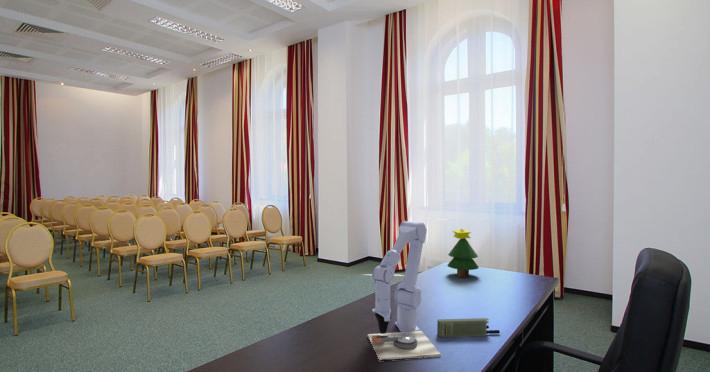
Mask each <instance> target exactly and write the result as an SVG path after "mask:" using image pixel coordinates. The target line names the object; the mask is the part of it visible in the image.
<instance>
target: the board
mask: <svg viewBox="0 0 710 372" xmlns="http://www.w3.org/2000/svg"><path fill="white" fill-rule="evenodd" d="M400 333H409V334H412V335H414V336H415V342H413V343H411V344H403V343H399V342H397V341H393V342H381V343H372V336H376V335H380V336H389V335H397V334H400ZM367 338H368V341H369V340H370V341H369V342H371V343H370V345H371V344H372V345H371V347H372V346H373V347H372V349H373V348H374V349H373V351H374V350H375V352H376V354H375V355H377V356H376V357H378V358H377V360H378V359H379V360H382V359H399V358H400V359H401V358H418V359H427V357H428V358H429V357H431V358H441V357H442V356H441V354H442V353H441V352H440V351H439V350H438V348H436V346H435V345H434V344H433V343H432V342H431V340H430V338H428V337H427V336H426V334H425V333H424V331H422V330H419V331H407V332H401V331H399V332H398V331H396V332H395V331H394V332H386V334H380V332H379V333H368V334H367ZM375 352H374V353H375ZM423 357H424V358H423ZM429 359H430V358H429ZM379 360H378V361H379Z"/></svg>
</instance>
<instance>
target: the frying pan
mask: <svg viewBox="0 0 710 372" xmlns="http://www.w3.org/2000/svg"><path fill="white" fill-rule="evenodd" d="M393 341H397V342H399V343H403V344H411V343H413V342H415V336H414V335H412V334H409V333H400V334H397V335H389V336H380V335H376V336H372V343H381V342H393Z"/></svg>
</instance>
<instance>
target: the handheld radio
mask: <svg viewBox="0 0 710 372" xmlns="http://www.w3.org/2000/svg"><path fill="white" fill-rule="evenodd" d="M436 322H437V329H436V330H437V333H436V334H437V335H436V336H437V337H438V338H451V337H452V338H456V337H459V338H461V337H485V336H487V335H488V334H490V335H491V334H500V333H501V331H500V330H499V329H491V330H487V329H489V328H490V326H489V325H487V324H489V318H487V317H486V318H485V317H484V318H483V317H481V318H478V317H477V318H475V317H474V318H445V319H444V318H443V319H439V318H438V319H437V321H436Z"/></svg>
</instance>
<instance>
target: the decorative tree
mask: <svg viewBox="0 0 710 372" xmlns="http://www.w3.org/2000/svg"><path fill="white" fill-rule="evenodd" d="M452 232H453V233H454V235H452V237H454V238H456V239H459V240H458V241H457V243H456V244H455V245H454V246H453V248H452V249H451V250H450V252H449V253H448V256H449V257H452V259H450V261H449V262H448V264H447V266H446V267H447V268H451V269H454V270H456V277H458V276H459V278H469V277H470V271H473V270H478V269H479V265H478V264H477V263H476V261H475V260H474V259H476V258H478V257H479V256H478V254H477V252H476V251H475V250H474V249H473V247H472V245H471V244H470V242H469V241H468V239H471V237H470V234H471V233H472V232H471V231H468V230H465V229H463V228H461V229H460V230H456V229H455V230H452Z"/></svg>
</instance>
